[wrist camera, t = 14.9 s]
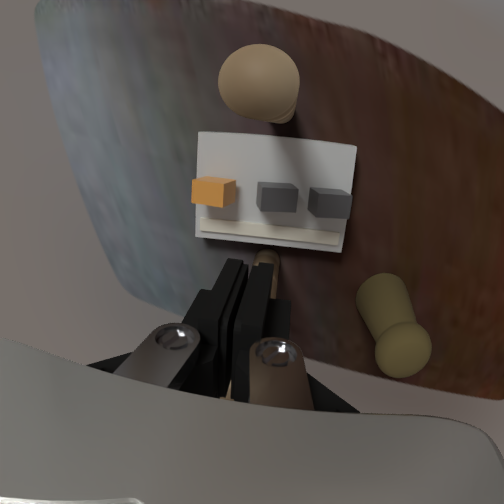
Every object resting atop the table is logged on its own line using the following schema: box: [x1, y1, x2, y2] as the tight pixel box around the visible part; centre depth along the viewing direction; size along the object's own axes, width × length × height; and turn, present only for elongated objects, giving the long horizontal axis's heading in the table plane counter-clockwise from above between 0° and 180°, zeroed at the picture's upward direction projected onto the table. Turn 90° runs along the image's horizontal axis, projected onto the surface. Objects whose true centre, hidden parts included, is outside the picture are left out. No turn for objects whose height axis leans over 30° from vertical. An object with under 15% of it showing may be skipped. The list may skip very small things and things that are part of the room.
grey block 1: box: [256, 182, 299, 213], centre depth 27 cm, size 3×2×2 cm, turn 86°
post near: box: [218, 44, 299, 124], centre depth 18 cm, size 3×3×20 cm
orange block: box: [192, 176, 236, 208], centre depth 28 cm, size 3×2×2 cm, turn 85°
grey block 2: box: [307, 187, 353, 219], centre depth 27 cm, size 3×2×2 cm, turn 86°
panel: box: [196, 132, 357, 253], centre depth 29 cm, size 14×10×2 cm
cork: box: [355, 273, 432, 378], centre depth 28 cm, size 6×6×11 cm
